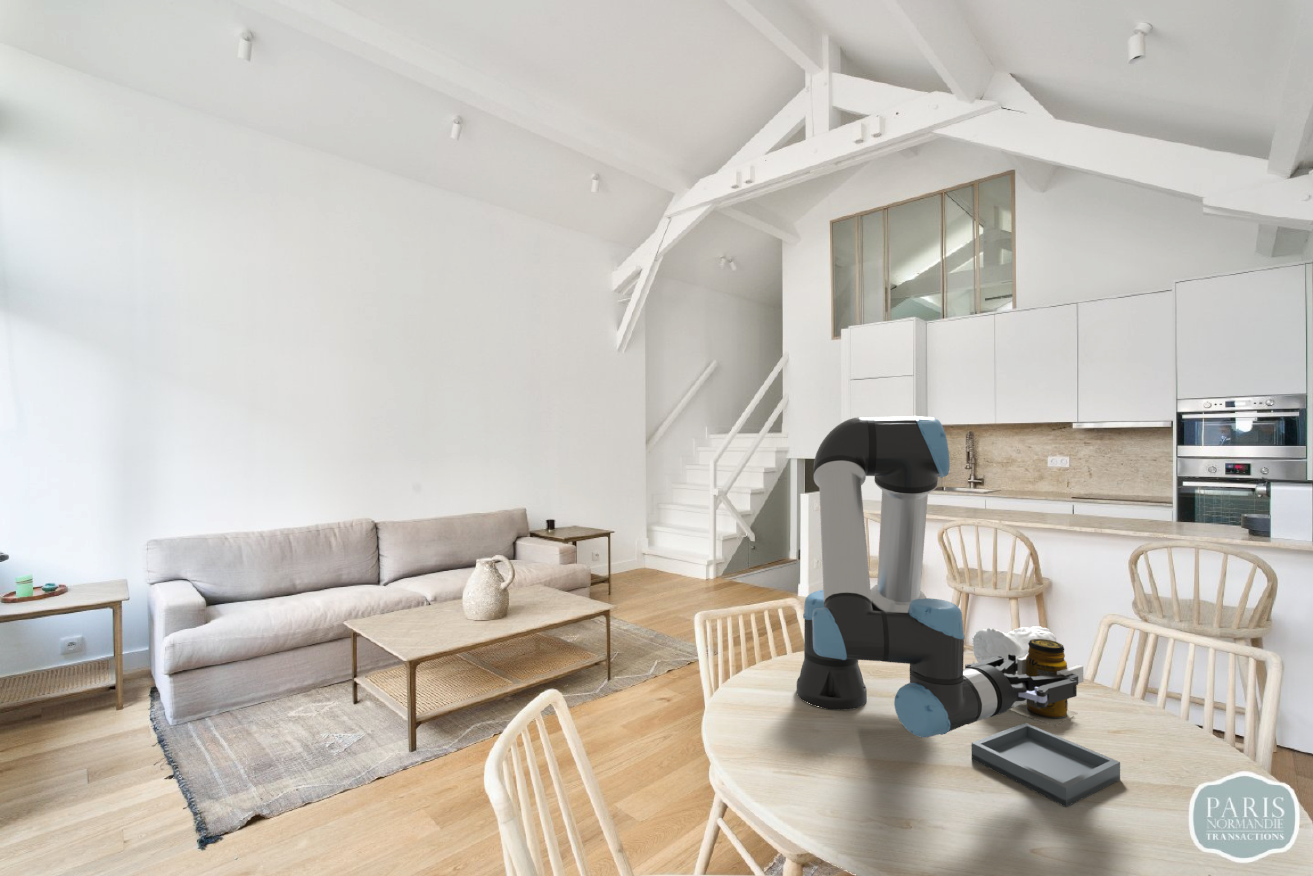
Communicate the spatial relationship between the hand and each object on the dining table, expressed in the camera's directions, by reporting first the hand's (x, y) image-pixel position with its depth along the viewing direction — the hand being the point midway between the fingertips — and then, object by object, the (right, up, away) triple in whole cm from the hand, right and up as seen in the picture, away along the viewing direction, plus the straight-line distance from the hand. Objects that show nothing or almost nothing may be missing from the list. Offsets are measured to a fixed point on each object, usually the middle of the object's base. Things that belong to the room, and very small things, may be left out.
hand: (1060, 667), depth 108 cm
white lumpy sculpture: (+8, -17, +26) cm, 32 cm away
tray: (-4, -17, -2) cm, 18 cm away
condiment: (-5, -7, -2) cm, 9 cm away
